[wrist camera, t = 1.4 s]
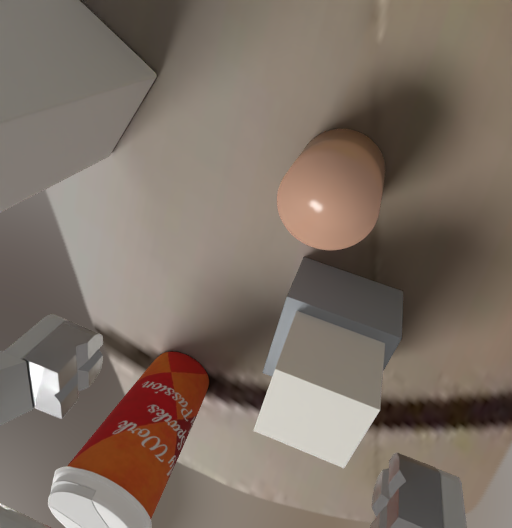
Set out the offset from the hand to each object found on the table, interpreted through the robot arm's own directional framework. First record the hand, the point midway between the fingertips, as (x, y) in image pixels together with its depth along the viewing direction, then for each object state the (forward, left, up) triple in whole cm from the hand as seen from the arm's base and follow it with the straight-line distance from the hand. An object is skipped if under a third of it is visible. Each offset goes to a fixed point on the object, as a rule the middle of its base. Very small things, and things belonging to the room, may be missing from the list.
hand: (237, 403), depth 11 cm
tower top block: (+10, +3, -13) cm, 17 cm away
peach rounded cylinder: (0, 0, -18) cm, 18 cm away
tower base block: (+10, +3, -18) cm, 21 cm away
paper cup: (+23, -8, -18) cm, 30 cm away
